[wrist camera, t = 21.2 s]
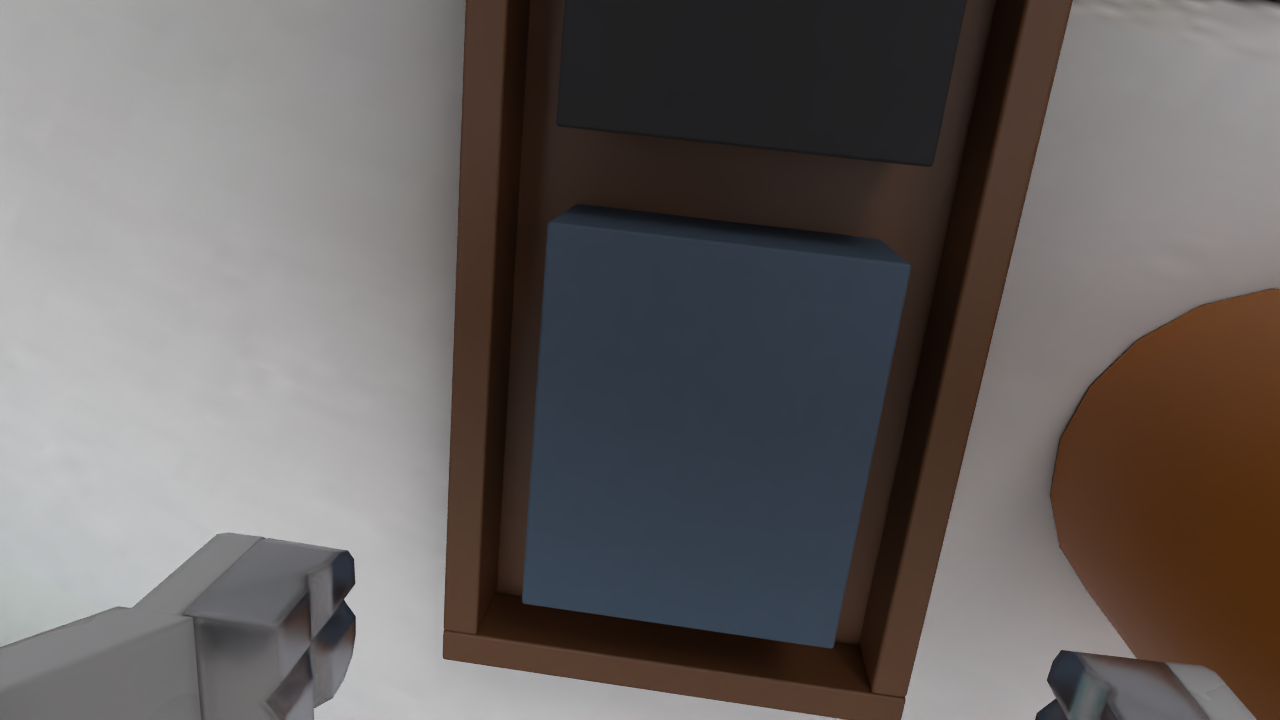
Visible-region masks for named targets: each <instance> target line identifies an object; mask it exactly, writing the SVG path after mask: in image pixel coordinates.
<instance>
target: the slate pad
mask: <svg viewBox="0 0 1280 720" xmlns="http://www.w3.org/2000/svg"><path fill="white" fill-rule="evenodd" d="M910 271H911V265H910V264H909V263H908V262H906V261H905V260H904V259H903V258H902V257H900V256H899V255H898V254H897V253H896V252H894V251H893V250H892V249H891V248H890V247H888V246H887V245H886V244H885V243H884V242H882V241H881V240H880V239H875V238H866V237H858V236H849V235H841V234H832V233H823V232H815V231H806V230H798V229H789V228H780V227H772V226H763V225H755V224H746V223H737V222H729V221H720V220H712V219H703V218H694V217H686V216H677V215H669V214H660V213H651V212H643V211H634V210H626V209H617V208H608V207H600V206H591V205H583V204H576V205H575V206H573V207H572V208H570V209H569V210H567V211H565V212H564V213H562V214H561V215H559V216H558V217H556V218H555V219H553V220H552V221H550V222H549V223H548V229H547V243H546V258H545V272H544V287H543V301H542V316H541V330H540V344H539V359H538V373H537V388H536V402H535V417H534V431H533V446H532V460H531V475H530V489H529V504H528V518H527V532H526V547H525V561H524V576H523V590H522V602H523V603H524V604H530V605H537V606H544V607H551V608H557V609H564V610H571V611H578V612H585V613H591V614H598V615H605V616H612V617H619V618H626V619H632V620H639V621H646V622H653V623H660V624H667V625H673V626H680V627H687V628H694V629H701V630H708V631H714V632H721V633H728V634H735V635H742V636H748V637H755V638H762V639H769V640H776V641H783V642H789V643H796V644H803V645H810V646H817V647H824V648H830V649H831V648H833V646H834V643H835V638H836V633H837V628H838V623H839V618H840V613H841V608H842V604H843V599H844V594H845V589H846V584H847V579H848V574H849V569H850V564H851V560H852V555H853V550H854V545H855V540H856V535H857V530H858V525H859V520H860V516H861V511H862V506H863V501H864V496H865V491H866V486H867V481H868V476H869V472H870V467H871V462H872V457H873V452H874V447H875V442H876V437H877V432H878V428H879V423H880V418H881V413H882V408H883V403H884V398H885V393H886V388H887V384H888V379H889V374H890V369H891V364H892V359H893V354H894V349H895V344H896V340H897V335H898V330H899V325H900V320H901V315H902V310H903V305H904V300H905V296H906V291H907V286H908V281H909V276H910Z"/></svg>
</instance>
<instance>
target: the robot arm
mask: <svg viewBox="0 0 1280 720" xmlns="http://www.w3.org/2000/svg"><path fill="white" fill-rule="evenodd" d="M354 585H355V571H354V558H353V557H352V556H351V554H350V553H349V551H347V550H340V549H334V548H328V547H321V546H315V545H309V544H303V543H296V542H290V541H284V540H277V539H271V538H268V539H266V538H264V537H259V536H252V535H244V534H236V533H222V534H217V535H216V536H215V537H213V538H212V539H211V540H210V541H209V542H208V543H206V544H205V545H204V546H203V547H202V548H201V549H200V550H198V551H197V552H196V553H195V554H194V555H193V556H191V557H190V558H189V559H188V560H187V561H186V562H184V563H183V564H182V565H181V566H180V567H179V568H178V569H176V570H175V571H174V572H173V573H172V574H171V575H169V576H168V577H167V578H166V579H165V580H164V581H162V582H161V583H160V584H159V585H158V586H157V587H156V588H154V589H153V590H152V591H151V592H150V593H149V594H147V595H146V596H145V597H144V598H143V599H142V600H140V601H139V602H138V603H137V604H136V605H135V606H134V607H132V608H126V607H115V608H112V609H109V610H106V611H103V612H100V613H97V614H95V615H92V616H89V617H86V618H83V619H80V620H77V621H74V622H71V623H69V624H66V625H63V626H60V627H57V628H54V629H51V630H48V631H45V632H43V633H40V634H37V635H34V636H31V637H28V638H25V639H22V640H19V641H17V642H14V643H11V644H8V645H5V646H2V647H0V720H314V708H316V707H317V706H319V705H321V704H323V703H325V702H327V701H328V700H330V699H332V698H333V697H334V695H335V693H336V692H337V690H338V688H339V687H340V685H341V684H342V682H343V680H344V678H345V675H346V672H347V669H348V666H349V664H350V661H351V658H352V655H353V648H354V641H355V635H356V616H355V615H354V614H353V612H352V611H351V609H350V608H349V607H348V605H347V604H346V602H345V601H344V598H345V597H346V596H347V594H348V593H349V591H350V590H351V589H352V587H353V586H354ZM1047 682H1048V684H1049V686H1050V687H1051V689H1052V691H1053V693H1054V695H1055V697H1056V699H1055V700H1053V701H1052V702H1051V703H1050V704H1048V705H1047V706H1046V707H1044V708H1043V709H1042V710H1040V711H1039V712H1038V713H1037V715H1036V719H1035V720H1257V719H1256V718H1255V717H1254V716H1253V715H1252V713H1251V712H1250V711H1249V710H1248V709H1247V708H1246V707H1245V705H1244V704H1243V703H1242V702H1241V701H1240V700H1239V698H1238V697H1237V696H1236V695H1235V694H1234V693H1233V692H1232V690H1231V689H1230V688H1229V687H1228V686H1227V685H1226V684H1225V682H1224V681H1223V680H1222V679H1221V678H1220V677H1219V675H1218V674H1217V673H1216V672H1214V671H1212V670H1210V669H1208V668H1206V667H1204V666H1203V665H1194V664H1184V663H1175V662H1165V661H1149V660H1141V659H1132V658H1124V657H1115V656H1107V655H1098V654H1090V653H1082V652H1073V651H1065V650H1061V651H1060V653H1059V654H1058V655H1057V657H1056V658H1055V659H1054V661H1053V663H1052V666H1051V669H1050V672H1049V675H1048V678H1047Z"/></svg>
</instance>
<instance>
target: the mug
mask: <svg viewBox="0 0 1280 720" xmlns="http://www.w3.org/2000/svg"><path fill="white" fill-rule="evenodd" d="M1050 497H1051V502H1052V508H1053V513H1054V518H1055V524H1056V529H1057V535H1058V540H1059V545H1060V548H1061V550H1062V551H1063V553H1064V555H1065V556H1066V558H1067V559H1068V561H1069V563H1070V564H1071V566H1072V567H1073V569H1074V571H1075V572H1076V574H1077V576H1078V577H1079V579H1080V580H1081V582H1082V584H1083V585H1084V587H1085V588H1086V590H1087V592H1088V593H1089V594H1090V596H1091V597H1092V598H1093V600H1094V601H1095V602H1096V604H1097V605H1098V606H1099V608H1100V609H1101V611H1102V612H1103V613H1104V615H1105V616H1106V617H1107V619H1108V620H1109V621H1110V623H1111V624H1112V625H1113V627H1114V628H1115V630H1116V631H1117V632H1118V634H1119V635H1120V636H1121V638H1122V639H1123V640H1124V642H1125V643H1126V644H1127V646H1128V647H1129V649H1130V650H1131V651H1132V653H1133V654H1134V655H1135V657H1136V658H1137V659H1141V660H1149V661H1165V662H1175V663H1184V664H1194V665H1203V666H1204V667H1206V668H1208V669H1210V670H1212V671H1214V672H1216V673H1217V674H1218V675H1219V677H1220V678H1221V679H1222V680H1223V681H1224V682H1225V684H1226V685H1227V686H1228V687H1229V688H1230V689H1231V690H1232V692H1233V693H1234V694H1235V695H1236V696H1237V697H1238V698H1239V700H1240V701H1241V702H1242V703H1243V704H1244V705H1245V707H1246V708H1247V709H1248V710H1249V711H1250V712H1251V713H1252V715H1253V716H1254V717H1255V718H1256V719H1257V720H1280V289H1269V290H1264V291H1260V292H1256V293H1252V294H1247V295H1243V296H1239V297H1235V298H1231V299H1226V300H1222V301H1218V302H1214V303H1210V304H1205V305H1201V306H1199V307H1198V308H1196V309H1194V310H1192V311H1190V312H1188V313H1186V314H1185V315H1183V316H1181V317H1179V318H1177V319H1175V320H1174V321H1172V322H1170V323H1168V324H1166V325H1164V326H1162V327H1161V328H1159V329H1157V330H1155V331H1153V332H1151V333H1150V334H1148V335H1146V336H1144V337H1142V338H1140V339H1139V340H1138V341H1136V342H1135V343H1134V344H1133V345H1132V346H1131V347H1130V348H1129V349H1128V350H1127V351H1126V352H1125V353H1124V354H1123V355H1122V356H1121V357H1120V358H1119V359H1118V360H1117V361H1116V362H1115V363H1114V364H1113V365H1112V366H1111V367H1110V368H1108V369H1107V370H1106V371H1105V372H1104V373H1103V374H1102V375H1101V376H1100V377H1099V378H1098V379H1097V380H1096V381H1095V382H1094V383H1093V384H1092V385H1091V386H1090V387H1089V389H1088V391H1087V393H1086V395H1085V396H1084V398H1083V400H1082V402H1081V404H1080V405H1079V407H1078V409H1077V411H1076V412H1075V414H1074V416H1073V418H1072V420H1071V421H1070V423H1069V425H1068V427H1067V429H1066V430H1065V432H1064V434H1063V436H1062V437H1061V439H1060V444H1059V449H1058V455H1057V460H1056V466H1055V471H1054V477H1053V482H1052V488H1051V493H1050Z"/></svg>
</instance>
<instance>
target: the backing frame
mask: <svg viewBox="0 0 1280 720" xmlns="http://www.w3.org/2000/svg"><path fill="white" fill-rule="evenodd" d="M1072 1H1073V0H967V3H966V8H965V12H964V17H963V22H962V27H961V32H960V37H959V42H958V47H957V52H956V57H955V61H954V66H953V71H952V76H951V81H950V86H949V91H948V96H947V101H946V106H945V111H944V115H943V120H942V125H941V130H940V135H939V140H938V145H937V150H936V155H935V160H934V164H933V165H932V166H931V167H923V166H914V165H905V164H896V163H887V162H878V161H869V160H860V159H850V158H841V157H832V156H823V155H814V154H805V153H796V152H787V151H777V150H768V149H759V148H750V147H741V146H732V145H723V144H714V143H704V142H695V141H686V140H677V139H668V138H659V137H650V136H641V135H631V134H622V133H613V132H604V131H595V130H586V129H577V128H568V127H560V126H558V125H557V123H556V116H557V102H558V87H559V72H560V58H561V43H562V29H563V14H564V0H466V10H465V38H464V66H463V95H462V123H461V151H460V179H459V208H458V236H457V264H456V293H455V321H454V349H453V377H452V406H451V434H450V462H449V490H448V519H447V547H446V575H445V604H444V629H445V630H444V634H443V658H444V659H447V660H454V661H461V662H467V663H474V664H481V665H487V666H494V667H500V668H507V669H514V670H520V671H527V672H534V673H540V674H547V675H554V676H560V677H567V678H574V679H580V680H587V681H593V682H600V683H607V684H613V685H620V686H627V687H633V688H640V689H647V690H653V691H660V692H666V693H673V694H680V695H686V696H693V697H700V698H706V699H713V700H720V701H726V702H733V703H740V704H746V705H753V706H759V707H766V708H773V709H779V710H786V711H793V712H799V713H806V714H813V715H819V716H826V717H832V718H839V719H846V720H901V717H902V713H903V709H904V704H905V696H906V694H907V690H908V686H909V682H910V678H911V674H912V670H913V665H914V661H915V657H916V653H917V649H918V644H919V640H920V636H921V632H922V628H923V624H924V619H925V615H926V611H927V607H928V603H929V599H930V594H931V590H932V586H933V582H934V578H935V573H936V569H937V565H938V561H939V557H940V553H941V548H942V544H943V540H944V536H945V532H946V527H947V523H948V519H949V515H950V511H951V507H952V502H953V498H954V494H955V490H956V486H957V482H958V477H959V473H960V469H961V465H962V461H963V456H964V452H965V448H966V444H967V440H968V436H969V431H970V427H971V423H972V419H973V415H974V411H975V406H976V402H977V398H978V394H979V390H980V385H981V381H982V377H983V373H984V369H985V365H986V360H987V356H988V352H989V348H990V344H991V340H992V335H993V331H994V327H995V323H996V319H997V314H998V310H999V306H1000V302H1001V298H1002V294H1003V289H1004V285H1005V281H1006V277H1007V273H1008V269H1009V264H1010V260H1011V256H1012V252H1013V248H1014V243H1015V239H1016V235H1017V231H1018V227H1019V223H1020V218H1021V214H1022V210H1023V206H1024V202H1025V197H1026V193H1027V189H1028V185H1029V181H1030V177H1031V172H1032V168H1033V164H1034V160H1035V156H1036V152H1037V147H1038V143H1039V139H1040V135H1041V131H1042V126H1043V122H1044V118H1045V114H1046V110H1047V106H1048V101H1049V97H1050V93H1051V89H1052V85H1053V81H1054V76H1055V72H1056V68H1057V64H1058V60H1059V55H1060V51H1061V47H1062V43H1063V39H1064V35H1065V30H1066V26H1067V22H1068V18H1069V14H1070V10H1071V5H1072ZM576 204H583V205H591V206H600V207H608V208H617V209H626V210H634V211H643V212H651V213H660V214H669V215H677V216H686V217H694V218H703V219H712V220H720V221H729V222H737V223H746V224H755V225H763V226H772V227H780V228H789V229H798V230H806V231H815V232H823V233H832V234H841V235H849V236H858V237H866V238H875V239H880V240H881V241H882V242H884V243H885V244H886V245H887V246H888V247H890V248H891V249H892V250H893V251H894V252H896V253H897V254H898V255H899V256H900V257H902V258H903V259H904V260H905V261H906V262H908V263H909V264H910V265H911V271H910V276H909V281H908V286H907V291H906V296H905V300H904V305H903V310H902V315H901V320H900V325H899V330H898V335H897V340H896V344H895V349H894V354H893V359H892V364H891V369H890V374H889V379H888V384H887V388H886V393H885V398H884V403H883V408H882V413H881V418H880V423H879V428H878V432H877V437H876V442H875V447H874V452H873V457H872V462H871V467H870V472H869V476H868V481H867V486H866V491H865V496H864V501H863V506H862V511H861V516H860V520H859V525H858V530H857V535H856V540H855V545H854V550H853V555H852V560H851V564H850V569H849V574H848V579H847V584H846V589H845V594H844V599H843V604H842V608H841V613H840V618H839V623H838V628H837V633H836V638H835V643H834V646H833V648H831V649H830V648H824V647H817V646H810V645H803V644H796V643H789V642H783V641H776V640H769V639H762V638H755V637H748V636H742V635H735V634H728V633H721V632H714V631H708V630H701V629H694V628H687V627H680V626H673V625H667V624H660V623H653V622H646V621H639V620H632V619H626V618H619V617H612V616H605V615H598V614H591V613H585V612H578V611H571V610H564V609H557V608H551V607H544V606H537V605H530V604H524V603H523V602H522V590H523V576H524V561H525V547H526V532H527V518H528V504H529V489H530V475H531V460H532V446H533V431H534V417H535V402H536V388H537V373H538V359H539V344H540V330H541V316H542V301H543V287H544V272H545V258H546V243H547V229H548V223H549V222H550V221H552V220H553V219H555V218H556V217H558V216H559V215H561V214H562V213H564V212H565V211H567V210H569V209H570V208H572V207H573V206H575V205H576Z"/></svg>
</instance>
